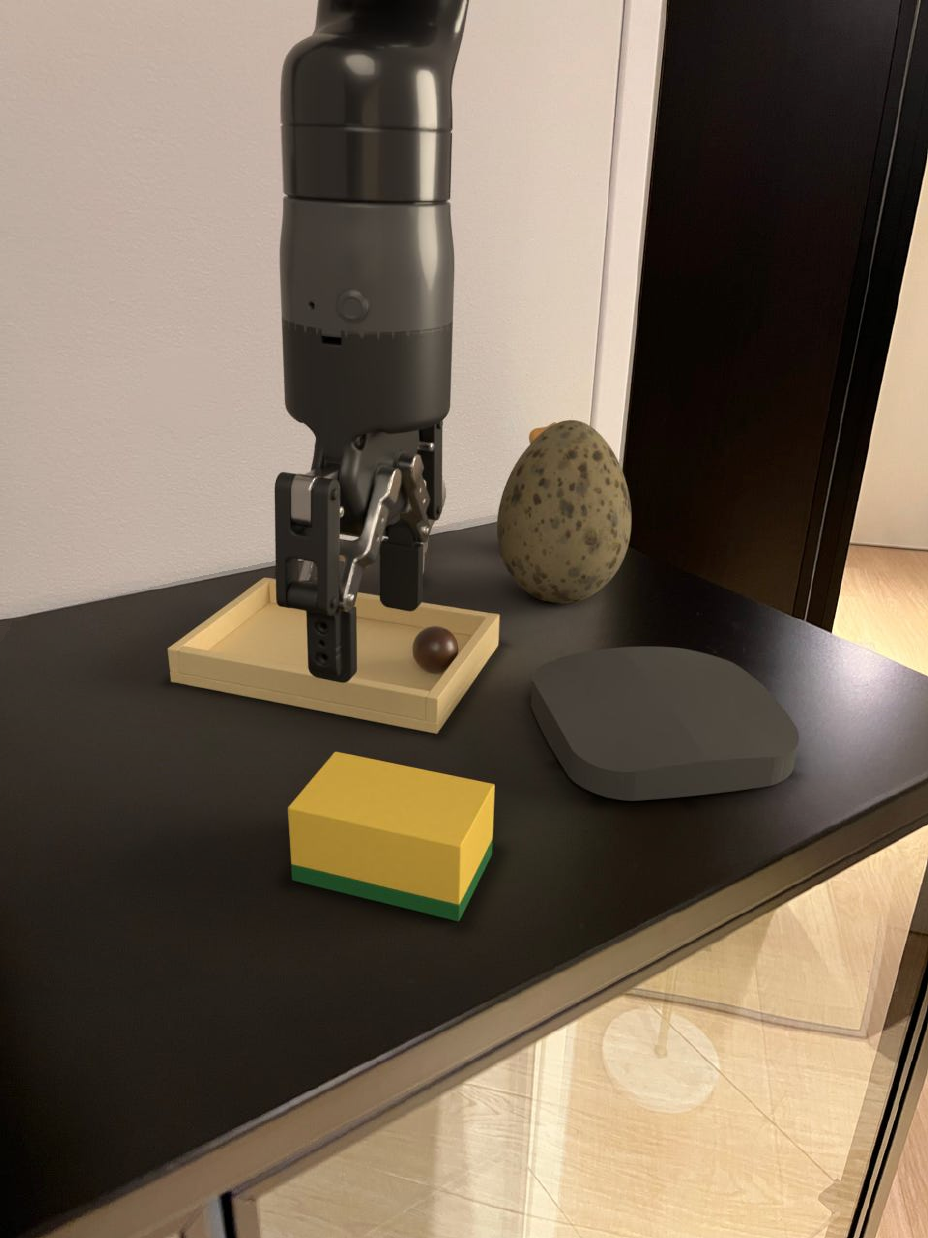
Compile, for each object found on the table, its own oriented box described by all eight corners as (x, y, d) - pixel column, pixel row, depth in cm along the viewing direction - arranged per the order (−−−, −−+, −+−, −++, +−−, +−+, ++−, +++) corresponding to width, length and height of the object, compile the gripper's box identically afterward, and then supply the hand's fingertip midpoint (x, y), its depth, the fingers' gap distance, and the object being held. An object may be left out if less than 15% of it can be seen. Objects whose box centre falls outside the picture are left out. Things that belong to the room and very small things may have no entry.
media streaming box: (582, 813, 57) (586, 769, 56) (516, 690, 70) (518, 651, 69) (817, 788, 60) (826, 744, 59) (713, 673, 73) (718, 636, 72)
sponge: (291, 880, 52) (286, 807, 50) (337, 819, 56) (334, 750, 55) (459, 922, 49) (460, 846, 47) (492, 854, 54) (495, 783, 52)
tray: (170, 682, 70) (166, 648, 69) (266, 606, 82) (264, 576, 81) (437, 734, 65) (437, 698, 64) (498, 645, 77) (499, 614, 75)
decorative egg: (644, 620, 81) (663, 435, 75) (514, 631, 79) (522, 441, 73) (597, 570, 91) (611, 402, 84) (480, 578, 88) (485, 406, 82)
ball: (424, 628, 68) (459, 661, 68) (439, 610, 71) (473, 641, 71) (396, 657, 70) (431, 688, 70) (412, 638, 73) (445, 668, 73)
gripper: (356, 285, 52) (359, 577, 59) (205, 325, 40) (230, 689, 46) (497, 297, 50) (482, 599, 57) (383, 343, 37) (382, 722, 44)
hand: (369, 639), depth 52 cm, fingers open, 8 cm apart
